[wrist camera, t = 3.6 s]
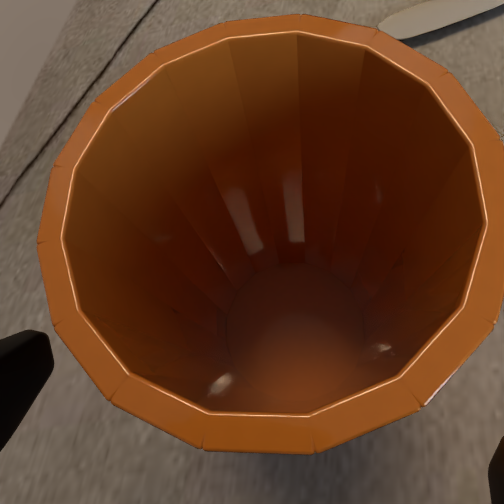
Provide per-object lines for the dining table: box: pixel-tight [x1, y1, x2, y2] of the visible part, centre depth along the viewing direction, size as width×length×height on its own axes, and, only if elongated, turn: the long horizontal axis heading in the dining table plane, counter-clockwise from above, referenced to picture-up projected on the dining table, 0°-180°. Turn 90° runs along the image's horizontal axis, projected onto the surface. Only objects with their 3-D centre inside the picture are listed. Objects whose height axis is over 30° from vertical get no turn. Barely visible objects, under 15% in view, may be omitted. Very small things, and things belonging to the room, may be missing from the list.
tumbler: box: [37, 14, 504, 455], centre depth 12 cm, size 7×7×13 cm
